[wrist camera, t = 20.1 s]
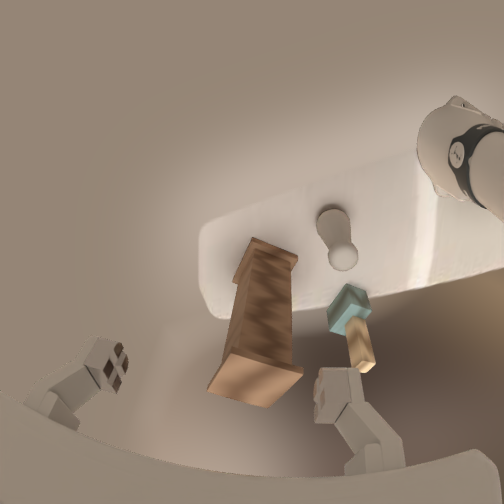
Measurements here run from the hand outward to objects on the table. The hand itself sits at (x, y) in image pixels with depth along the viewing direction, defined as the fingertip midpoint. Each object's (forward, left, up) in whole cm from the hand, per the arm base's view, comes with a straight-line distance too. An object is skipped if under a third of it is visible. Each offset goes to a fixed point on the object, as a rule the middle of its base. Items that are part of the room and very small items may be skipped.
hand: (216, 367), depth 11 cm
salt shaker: (-12, +11, -39) cm, 43 cm away
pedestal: (-1, +22, -39) cm, 45 cm away
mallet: (-21, +30, -31) cm, 48 cm away
